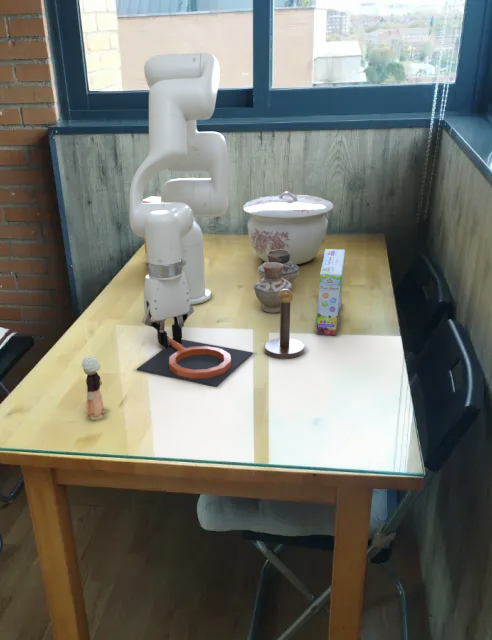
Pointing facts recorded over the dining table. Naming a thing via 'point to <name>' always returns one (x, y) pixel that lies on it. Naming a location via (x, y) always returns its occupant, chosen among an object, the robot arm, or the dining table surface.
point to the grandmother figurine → (93, 389)
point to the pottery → (275, 279)
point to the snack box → (330, 291)
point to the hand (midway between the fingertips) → (170, 343)
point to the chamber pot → (288, 225)
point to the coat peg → (284, 332)
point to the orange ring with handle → (197, 350)
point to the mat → (194, 363)
